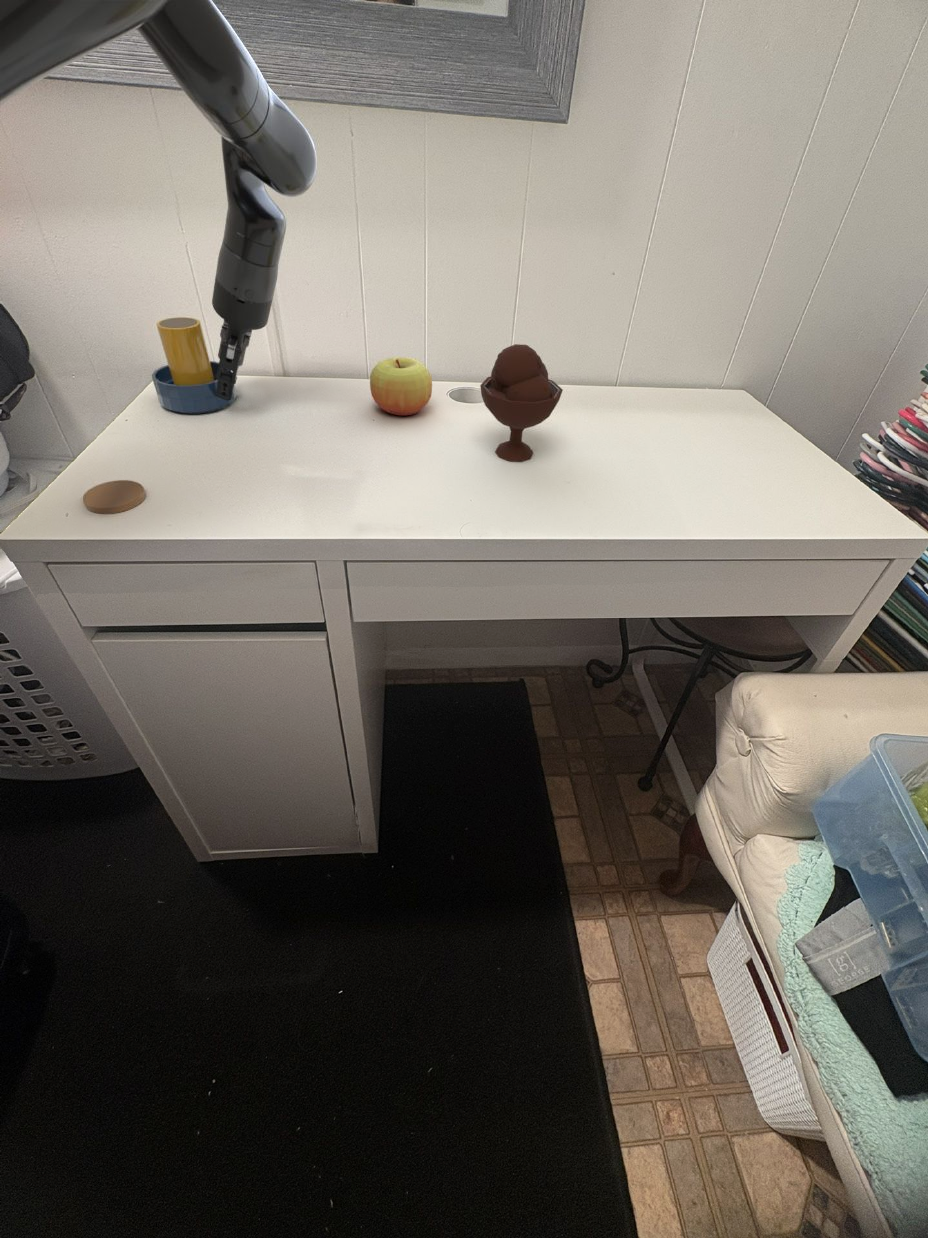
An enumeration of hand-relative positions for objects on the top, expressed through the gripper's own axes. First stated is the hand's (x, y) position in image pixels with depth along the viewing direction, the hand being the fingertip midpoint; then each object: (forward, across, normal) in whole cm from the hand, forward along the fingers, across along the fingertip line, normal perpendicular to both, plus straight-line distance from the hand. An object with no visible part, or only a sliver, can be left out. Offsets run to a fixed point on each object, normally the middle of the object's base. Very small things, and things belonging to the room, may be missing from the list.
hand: (227, 381), depth 89 cm
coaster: (0, +30, -8) cm, 31 cm away
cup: (+4, 0, -4) cm, 6 cm away
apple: (-8, +3, +26) cm, 28 cm away
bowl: (+5, +1, -3) cm, 6 cm away
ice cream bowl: (-18, +19, +40) cm, 47 cm away
